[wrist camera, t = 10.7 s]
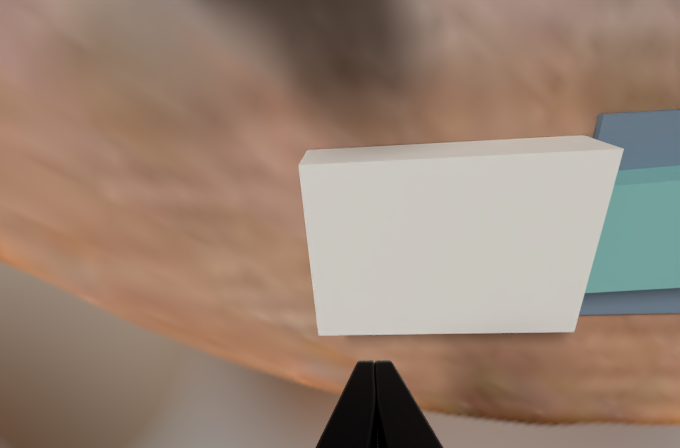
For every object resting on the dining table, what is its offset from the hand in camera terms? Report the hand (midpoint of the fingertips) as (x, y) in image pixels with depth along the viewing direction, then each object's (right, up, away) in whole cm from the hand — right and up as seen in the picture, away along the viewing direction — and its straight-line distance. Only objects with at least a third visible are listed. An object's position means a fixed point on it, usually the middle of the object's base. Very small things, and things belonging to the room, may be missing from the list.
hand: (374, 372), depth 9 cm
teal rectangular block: (+16, +4, +10) cm, 20 cm away
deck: (+5, +3, +11) cm, 13 cm away
